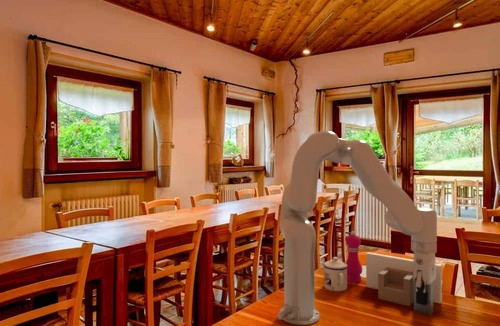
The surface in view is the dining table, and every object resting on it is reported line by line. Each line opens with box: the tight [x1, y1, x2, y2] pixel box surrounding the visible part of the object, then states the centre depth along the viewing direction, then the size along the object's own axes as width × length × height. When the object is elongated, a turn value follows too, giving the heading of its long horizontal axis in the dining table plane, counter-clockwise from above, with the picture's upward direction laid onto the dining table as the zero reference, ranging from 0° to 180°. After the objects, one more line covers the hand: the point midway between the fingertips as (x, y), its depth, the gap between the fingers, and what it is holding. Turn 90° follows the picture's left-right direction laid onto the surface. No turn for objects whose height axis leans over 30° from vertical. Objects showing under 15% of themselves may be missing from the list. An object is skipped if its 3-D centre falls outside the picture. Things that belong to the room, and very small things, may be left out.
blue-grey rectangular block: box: [413, 281, 434, 316], centre depth 119 cm, size 4×5×10 cm
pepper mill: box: [345, 230, 363, 284], centre depth 149 cm, size 7×7×20 cm
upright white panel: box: [365, 252, 443, 307], centre depth 130 cm, size 11×26×13 cm, turn 51°
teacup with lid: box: [323, 256, 348, 292], centre depth 139 cm, size 12×9×12 cm
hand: (423, 301), depth 119 cm, fingers open, 4 cm apart
